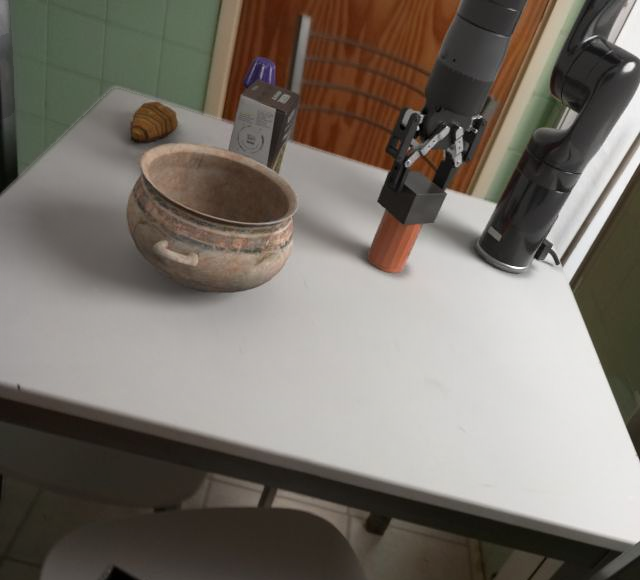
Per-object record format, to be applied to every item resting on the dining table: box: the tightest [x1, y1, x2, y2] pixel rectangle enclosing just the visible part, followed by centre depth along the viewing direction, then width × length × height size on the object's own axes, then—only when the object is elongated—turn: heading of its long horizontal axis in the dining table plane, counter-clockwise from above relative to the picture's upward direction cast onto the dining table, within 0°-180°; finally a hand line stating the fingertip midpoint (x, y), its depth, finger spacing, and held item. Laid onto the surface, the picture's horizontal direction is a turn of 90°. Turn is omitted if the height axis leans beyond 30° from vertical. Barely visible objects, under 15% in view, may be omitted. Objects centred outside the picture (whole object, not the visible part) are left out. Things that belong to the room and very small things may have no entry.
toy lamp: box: [242, 56, 276, 90], centre depth 101 cm, size 5×5×17 cm
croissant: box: [129, 101, 179, 144], centre depth 105 cm, size 14×7×5 cm, turn 165°
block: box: [376, 170, 448, 225], centre depth 93 cm, size 6×6×4 cm
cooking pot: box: [125, 142, 300, 294], centre depth 79 cm, size 25×19×12 cm
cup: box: [366, 208, 424, 274], centre depth 97 cm, size 6×6×8 cm
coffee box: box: [227, 79, 301, 175], centre depth 93 cm, size 9×6×16 cm
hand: (415, 189), depth 92 cm, fingers open, 8 cm apart
